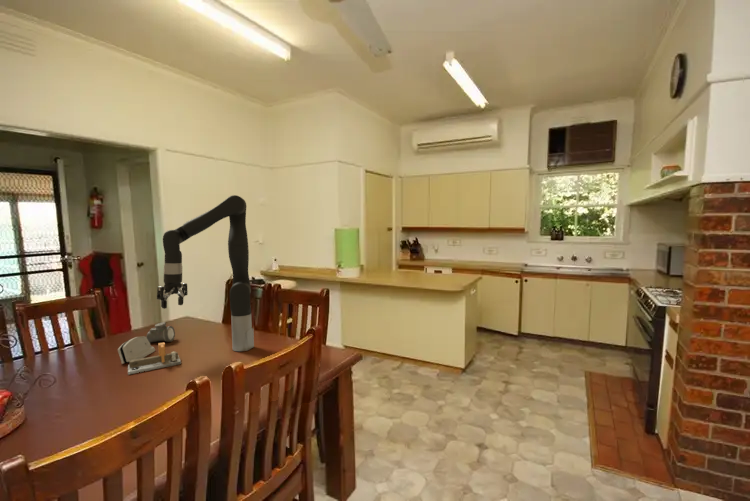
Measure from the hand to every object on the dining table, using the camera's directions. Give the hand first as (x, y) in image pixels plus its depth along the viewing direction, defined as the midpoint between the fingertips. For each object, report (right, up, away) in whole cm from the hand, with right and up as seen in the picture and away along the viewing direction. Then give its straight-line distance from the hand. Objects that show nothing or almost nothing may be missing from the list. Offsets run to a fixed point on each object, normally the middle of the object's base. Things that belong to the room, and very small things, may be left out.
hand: (172, 306), depth 163 cm
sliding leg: (+1, -22, -10) cm, 24 cm away
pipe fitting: (-18, -22, +20) cm, 35 cm away
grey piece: (-1, -24, -12) cm, 27 cm away
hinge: (-16, -24, -1) cm, 28 cm away
